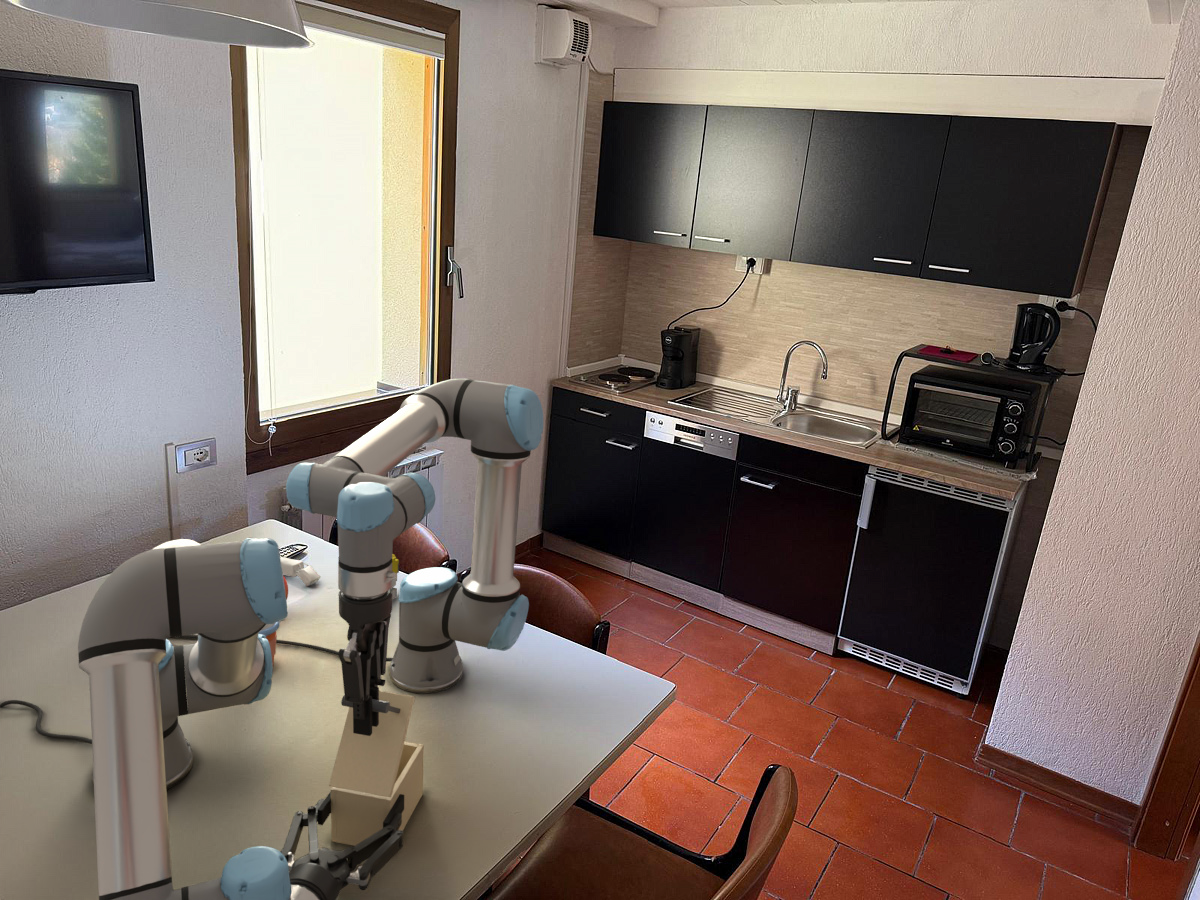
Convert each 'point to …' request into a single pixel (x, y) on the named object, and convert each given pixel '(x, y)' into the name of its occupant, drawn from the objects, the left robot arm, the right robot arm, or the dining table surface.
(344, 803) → the chest
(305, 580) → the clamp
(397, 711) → the lid
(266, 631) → the cup with straw
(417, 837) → the dining table surface
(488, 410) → the right robot arm
